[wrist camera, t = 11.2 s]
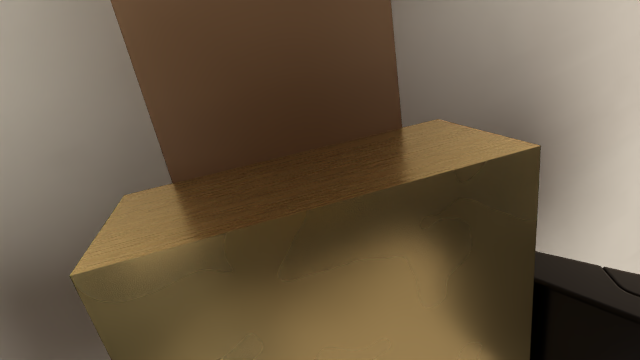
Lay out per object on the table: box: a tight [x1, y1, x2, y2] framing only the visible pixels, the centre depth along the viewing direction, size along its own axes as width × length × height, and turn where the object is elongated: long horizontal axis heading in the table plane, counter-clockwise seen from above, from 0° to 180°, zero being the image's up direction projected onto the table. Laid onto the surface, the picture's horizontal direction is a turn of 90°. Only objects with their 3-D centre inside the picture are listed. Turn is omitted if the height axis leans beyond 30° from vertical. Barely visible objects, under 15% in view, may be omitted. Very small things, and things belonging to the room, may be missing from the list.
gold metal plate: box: [70, 119, 541, 360], centre depth 7 cm, size 7×6×2 cm
